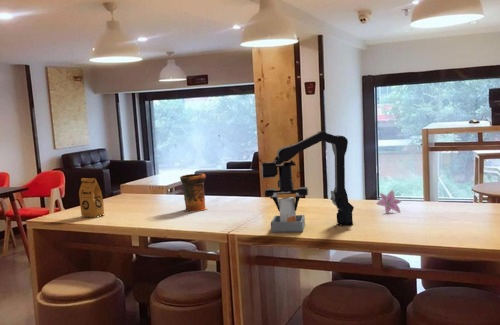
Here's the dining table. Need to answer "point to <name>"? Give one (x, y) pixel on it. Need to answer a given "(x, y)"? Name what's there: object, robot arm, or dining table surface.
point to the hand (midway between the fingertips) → (287, 211)
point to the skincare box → (287, 209)
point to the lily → (389, 202)
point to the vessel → (194, 192)
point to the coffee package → (91, 198)
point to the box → (287, 225)
